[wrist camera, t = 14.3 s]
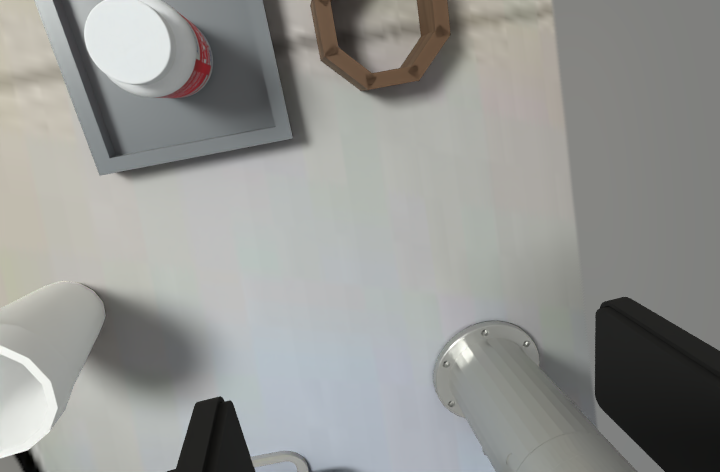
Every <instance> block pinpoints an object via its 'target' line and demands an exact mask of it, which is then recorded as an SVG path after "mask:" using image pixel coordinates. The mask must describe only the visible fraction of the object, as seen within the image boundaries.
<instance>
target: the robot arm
mask: <svg viewBox="0 0 720 472" xmlns="http://www.w3.org/2000/svg"><path fill="white" fill-rule="evenodd" d="M595 335H596V336H595V397H596V400H597V402H598V404H599V406H600V407H601V408H602V409H603V411H604V412H605V413H606V414H607V415H609V417H610V418H611V419H613V420H614V422H615V423H616V424H617V425H618V426H620V428H622V429H623V430H624V431H625V432H626V433H627V434H628V435H629V436H630V437H631V438H632V439H633V440H634V441H635V442H636V443H637V444H638V445H639V446H640V447H641V448H642V449H643V450H644V451H645V452H646V453H647V454H648V455H649V456H650V457H651V458H652V459H653V460H654V461H655V462H656V463H657V464H658V465H659V466H660V467H661V468H662V469H663V470H664V471H665V472H720V351H718V350H717V349H715V348H714V347H712V346H710V345H709V344H707V343H705V342H703V341H702V340H700V339H698V338H697V337H695V336H693V335H691V334H690V333H688V332H687V331H685V330H683V329H681V328H680V327H678V326H676V325H675V324H673V323H671V322H669V321H668V320H666V319H664V318H663V317H661V316H659V315H657V314H656V313H654V312H652V311H651V310H649V309H647V308H646V307H644V306H642V305H641V304H639V303H637V302H635V301H634V300H632V299H630V298H628V297H622V298H618V299H614V300H610V301H605V302H603V303H602V304H601V306H600V309H598V310H597V312H596V333H595ZM539 363H540V359H539V353H538V350H537V347H536V345H535V343H534V342H533V340H532V339H531V338H530V337H529V336H528V335H527V334H526V333H525V332H524V331H523V330H522V329H520V328H519V327H517V326H515V325H513V324H510V323H507V322H501V321H488V322H483V323H478V324H476V325H473V326H470V327H468V328H466V329H465V330H463V331H461V332H459V333H458V334H457V335H456V336H454V337H453V338H452V339H451V340H450V341H449V342H448V343H447V344H446V345H445V347H444V348H443V349H442V351H441V353H440V354H439V356H438V358H437V361H436V363H435V367H434V373H433V383H434V387H435V391H436V393H437V395H438V397H439V399H440V401H441V402H442V403H443V405H444V406H445V407H446V408H447V409H448V410H449V411H450V412H452V413H454V414H456V415H457V416H460V417H463V418H466V419H467V421H468V423H469V425H470V427H471V428H472V430H473V432H474V434H475V436H476V437H477V439H478V441H479V443H480V444H481V446H482V451H483V453H484V455H486V456H487V457H488V459H489V461H490V462H491V464H492V466H493V468H494V470H495V471H496V472H637V471H636V470H635V469H634V468H633V467H632V466H631V465H630V464H629V463H628V461H627V460H626V459H625V458H624V457H623V456H622V455H621V454H620V453H619V452H618V451H617V450H616V449H615V448H614V447H613V446H612V444H611V443H610V442H608V440H607V439H606V438H605V437H604V436H603V435H602V434H601V433H600V432H599V431H598V429H597V428H596V427H595V426H594V425H593V424H592V423H591V422H590V421H589V420H588V419H587V418H586V417H585V416H584V415H583V413H582V412H581V411H580V410H579V409H578V408H577V407H576V406H575V405H574V404H573V403H572V402H571V401H570V400H569V399H568V397H567V396H566V395H565V394H564V393H563V392H562V391H561V390H560V389H559V388H558V387H557V386H556V385H555V384H554V383H553V381H552V380H551V379H550V378H549V377H548V376H547V375H546V374H545V373H544V372H543V371H542V370H541V369H540V368H539ZM167 472H255V469H254V466H253V463H252V460H251V457H250V454H249V451H248V448H247V445H246V442H245V439H244V436H243V433H242V430H241V427H240V424H239V420H238V417H237V414H236V411H235V408H234V405H233V403H232V401H226V402H224V399H223V398H222V397H216V398H212V399H208V400H204V401H200V402H197V403H196V404H195V406H194V409H193V413H192V416H191V420H190V423H189V426H188V430H187V433H186V437H185V440H184V443H183V447H182V450H181V454H180V457H179V460H178V464H177V467H176V469H174V470H170V471H167Z"/></svg>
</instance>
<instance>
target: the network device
mask: <svg viewBox="0 0 720 472" xmlns="http://www.w3.org/2000/svg"><path fill="white" fill-rule="evenodd" d="M251 460H252V463H253V466H254V467H259V466H264V465H269V464H274V463H279V462H285V461H290V462H292V463H294V464H295V465H296V467H297V472H309V471H308V465H307V462H306V460H305V459H304V458H303V457H302V456H301V455H299V454H298V453H295V452H292V451H279V452H274V453H269V454H264V455H258V456H253V457H251Z"/></svg>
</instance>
